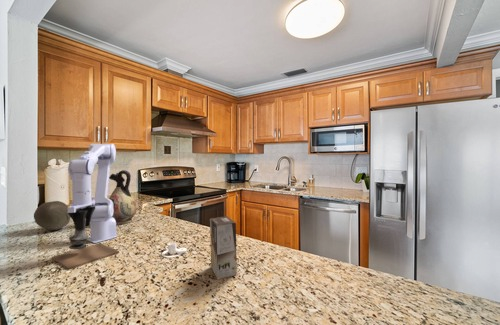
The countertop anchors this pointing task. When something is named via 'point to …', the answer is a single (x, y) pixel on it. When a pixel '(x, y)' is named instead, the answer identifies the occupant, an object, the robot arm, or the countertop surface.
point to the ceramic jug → (122, 199)
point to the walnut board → (84, 255)
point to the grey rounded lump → (52, 215)
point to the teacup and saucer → (173, 250)
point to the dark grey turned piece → (78, 238)
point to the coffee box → (223, 247)
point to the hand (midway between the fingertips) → (82, 227)
